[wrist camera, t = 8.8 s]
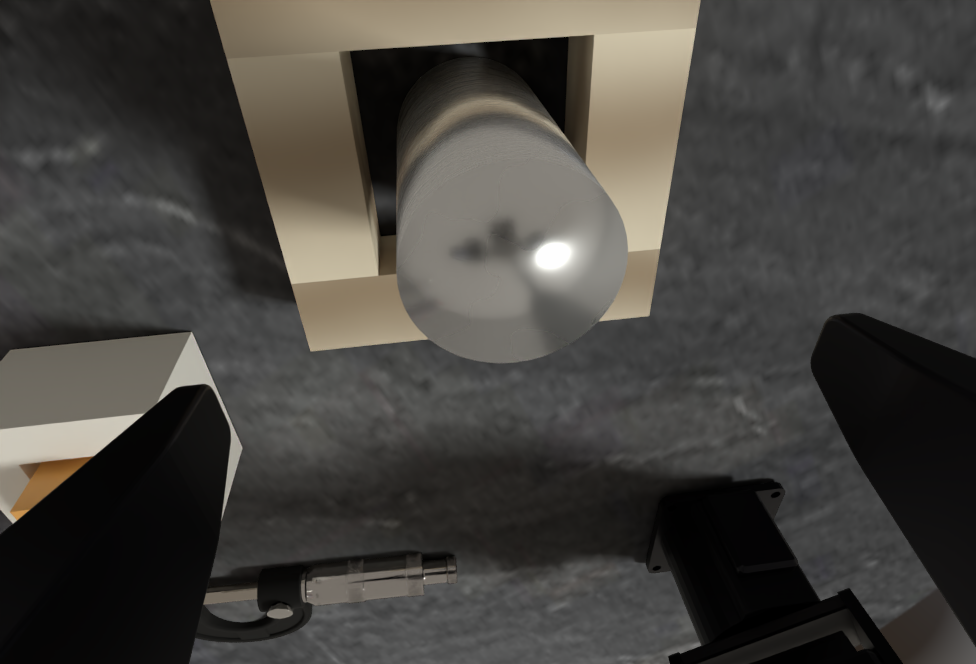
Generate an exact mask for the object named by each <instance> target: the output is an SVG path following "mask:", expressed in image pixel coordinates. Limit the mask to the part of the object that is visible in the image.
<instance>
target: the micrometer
mask: <svg viewBox="0 0 976 664" xmlns="http://www.w3.org/2000/svg"><path fill="white" fill-rule="evenodd" d="M439 583H448V584H454V583H457V566H456V557H455V556H451V557H446V559H437V560H427V561H423V560H422V553H414V554H406V555H401V556H391V557H381V558H371V559H354V560H348V561H341V562H331V563H321V564H314V565H313V566H311V567H309V568H304V567H303V566H292V567H282V568H272V569H263V570H262V571H261V573H260V576H259V580H258V582H250V583H240V584H231V585H221V586H211V587H208V588H207V592H206V596H205V600H204V604H203V608H202V612H201V617H200V621H199V625H198V629H197V633H196V637H195V638H198V639H203V640H208V641H216V642H254V641H262V640H268V639H273V638H277V637H281V636H284V635H287V634H290V633H292V632H294V631H296V630H298V629H300V628H302V627H303V626H304V625H305V624H306V623H307V622H308V621H309V620H310V618H311V614H312V605H314V606H321V605H331V604H340V603H349V604H350V603H359V602H366V601H367V600H376V599H386V598H395V597H404V596H408V597H414V596H423V595H424V585H430V584H439ZM254 599H257V602H258V607H259V610H260V611H261V612H267V616H268V617H266V618H264V619H262V620H259V621H254V622H245V623H240V622H231V621H227V620H223V619H221V618H218V617H216V616H215V615H213V614H212V613H210V612H209V611H208V609H207V608H206V607H205V606H204V605H207V604H217V603H226V602H236V601H245V600H254Z"/></svg>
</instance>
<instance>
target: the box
mask: <svg viewBox="0 0 976 664" xmlns="http://www.w3.org/2000/svg"><path fill="white" fill-rule="evenodd" d="M197 384H207V385H209V386H211V388H212V389H213V390H214V392H215V394H216V396H217V399H218V401H219V403H220V405H221V408H222V410H223V412H224V414H225V417H226V419H227V421H228V423H229V426H230V431H231V445H230V454H229V462H228V470H227V479H226V487H225V495H224V504H223V512H222V517H223V514H224V510H225V507H226V503H227V500H228V496H229V493H230V489H231V486H232V482H233V479H234V475H235V472H236V469H237V465H238V462H239V458H240V455H241V451H242V446H241V443H240V441H239V439H238V437H237V434H236V432H235V430H234V427H233V425H232V423H231V421H230V418H229V416H228V414H227V411H226V409H225V407H224V404H223V402H222V400H221V398H220V395H219V393H218V391H217V388H216V386H215V384H214V382H213V379H212V377H211V375H210V372H209V370H208V368H207V366H206V363H205V361H204V359H203V356H202V354H201V352H200V349H199V347H198V345H197V343H196V340H195V338H194V336H193V333H192V332H184V333H174V334H164V335H154V336H144V337H134V338H124V339H114V340H105V341H95V342H85V343H75V344H65V345H55V346H45V347H35V348H25V349H15V350H10V351H9V352H8V353H7V354H6V356H5V357H4V358H3V359H2V360H1V361H0V510H1V511H2V512H3V513H4V514H5V515H6V516H7V518H8V519H9V520H10V521H11V522H12V523H14V522H16V521H17V520H16V519H15V517H14V516H13V515H12V514H11V513H10V511H11V509H12V508H13V506H14V505H15V503H16V501H17V500H18V498H19V497H20V495H21V494H22V492H23V491H24V489H25V487H26V486H27V484H28V483H29V481H30V480H31V478H32V477H33V475H34V473H35V472H36V470H37V469H38V467H39V466H40V464H41V462H47V461H55V460H64V459H73V458H82V457H90V456H95V455H96V454H97V453H98V452H99V451H101V450H102V449H103V448H104V447H105V446H107V445H108V444H109V443H110V442H111V441H113V440H114V439H115V438H116V437H117V436H118V435H120V434H121V433H122V432H123V431H124V430H126V429H127V428H128V427H129V426H130V425H132V424H133V423H134V422H135V421H136V420H138V419H139V418H140V417H141V416H142V415H144V414H145V413H146V412H147V411H148V410H150V409H151V408H152V407H153V406H154V405H156V404H157V403H158V402H159V401H160V400H162V399H163V398H164V397H165V396H166V395H167V394H169V393H170V392H171V391H172V390H174V389H175V388H177V387H181V386H188V385H197ZM221 521H222V520H221Z"/></svg>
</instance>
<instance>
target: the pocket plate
mask: <svg viewBox="0 0 976 664" xmlns="http://www.w3.org/2000/svg"><path fill="white" fill-rule="evenodd" d="M210 3H211V6H212V10H213V13H214V17H215V20H216V24H217V27H218V31H219V34H220V38H221V41H222V44H223V48H224V51H225V55H226V58H227V62H228V65H229V69H230V72H231V76H232V79H233V83H234V86H235V90H236V93H237V97H238V100H239V104H240V107H241V111H242V114H243V118H244V121H245V125H246V128H247V132H248V135H249V139H250V142H251V145H252V149H253V152H254V156H255V159H256V163H257V166H258V170H259V173H260V177H261V180H262V184H263V187H264V191H265V194H266V198H267V201H268V205H269V208H270V212H271V215H272V219H273V222H274V226H275V229H276V233H277V236H278V239H279V243H280V246H281V250H282V253H283V257H284V260H285V264H286V267H287V271H288V274H289V278H290V281H291V285H292V288H293V292H294V295H295V299H296V302H297V306H298V309H299V313H300V316H301V320H302V323H303V327H304V330H305V334H306V337H307V340H308V344H309V347H310V351H319V350H329V349H338V348H348V347H357V346H367V345H376V344H386V343H395V342H405V341H415V340H424V339H428V338H427V337H426V336H425V335H424V334H423V333H422V332H421V331H420V330H419V329H418V328H417V326H416V325H415V324H414V323H413V321H412V320H411V318H410V317H409V315H408V313H407V312H406V310H405V308H404V305H403V303H402V300H401V298H400V294H399V289H398V285H397V273H396V235H390V236H380V230H379V224H378V218H377V212H376V206H375V200H374V194H373V188H372V182H371V176H370V170H369V164H368V158H367V152H366V146H365V140H364V134H363V128H362V122H361V116H360V110H359V104H358V98H357V92H356V86H355V80H354V74H353V68H352V62H351V56H350V51H354V50H369V49H384V48H400V47H415V46H430V45H446V44H461V43H476V42H492V41H507V40H522V39H538V38H553V37H568V36H569V41H568V64H567V87H566V110H565V133H564V135H565V136H566V138H567V139H568V141H569V142H570V143H571V145H572V146H573V147H574V149H575V150H576V152H577V153H578V154H579V156H580V157H581V158H582V160H583V161H584V163H585V164H586V165H587V167H588V168H589V169H590V171H591V172H592V174H593V175H594V176H595V178H596V179H597V181H598V182H599V183H600V185H601V186H602V187H603V189H604V190H605V192H606V193H607V194H608V196H609V197H610V198H611V200H612V202H613V203H614V205H615V206H616V208H617V209H618V211H619V214H620V216H621V218H622V220H623V223H624V227H625V231H626V235H627V243H628V260H627V266H626V272H625V276H624V279H623V282H622V285H621V288H620V290H619V292H618V294H617V296H616V298H615V300H614V301H613V303H612V304H611V306H610V307H609V309H608V310H607V312H606V313H605V314H604V315H603V316H602V318H601V319H600V320H599V321H606V320H616V319H625V318H635V317H644V316H649V314H650V308H651V302H652V295H653V289H654V283H655V277H656V271H657V265H658V258H659V252H660V246H661V240H662V234H663V228H664V222H665V215H666V209H667V203H668V197H669V191H670V185H671V179H672V172H673V166H674V160H675V154H676V148H677V142H678V135H679V129H680V123H681V117H682V111H683V105H684V99H685V92H686V86H687V80H688V74H689V68H690V62H691V56H692V49H693V43H694V37H695V31H696V25H697V19H698V12H699V6H700V0H210Z"/></svg>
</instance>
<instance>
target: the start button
mask: <svg viewBox="0 0 976 664" xmlns="http://www.w3.org/2000/svg"><path fill="white" fill-rule="evenodd" d="M92 457H93V456H90V457H82V458H73V459H64V460H55V461H47V462H41V464H40V466H39V467H38V469H37V470H36V472H35V473H34V475H33V477H32V478H31V480H30V481H29V483H28V484H27V486H26V487H25V489H24V491H23V492H22V494H21V495H20V497H19V498H18V500H17V501H16V503H15V505H14V506H13V508H12V509H11V511H10V513H11V514H12V515H13V516H14V517H15V519H16V520H18V519H19V518H20V517H22V516H23V515H24V514H25V513H26V512H28V511H29V510H30V509H31V508H32V507H34V506H35V505H36V504H37V503H38V502H40V501H41V500H42V499H43V498H44V497H46V496H47V495H48V494H49V493H50V492H52V491H53V490H54V489H55V488H56V487H58V486H59V485H60V484H61V483H62V482H63V481H65V480H66V479H67V478H68V477H69V476H71V475H72V474H73V473H74V472H75V471H77V470H78V469H79V468H80V467H81V466H83V465H84V464H85V463H86V462H87V461H89V460H90V459H91V458H92Z"/></svg>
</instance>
